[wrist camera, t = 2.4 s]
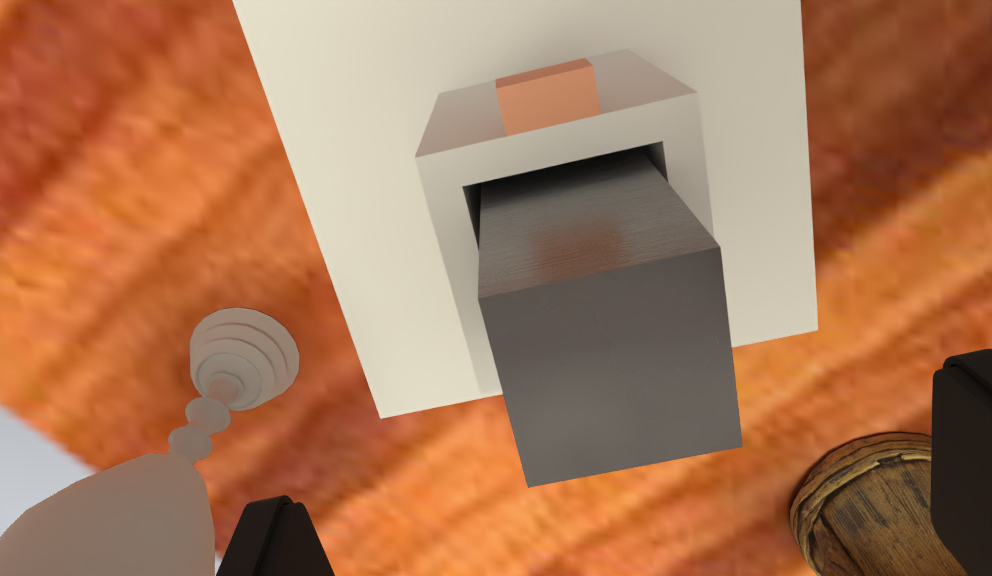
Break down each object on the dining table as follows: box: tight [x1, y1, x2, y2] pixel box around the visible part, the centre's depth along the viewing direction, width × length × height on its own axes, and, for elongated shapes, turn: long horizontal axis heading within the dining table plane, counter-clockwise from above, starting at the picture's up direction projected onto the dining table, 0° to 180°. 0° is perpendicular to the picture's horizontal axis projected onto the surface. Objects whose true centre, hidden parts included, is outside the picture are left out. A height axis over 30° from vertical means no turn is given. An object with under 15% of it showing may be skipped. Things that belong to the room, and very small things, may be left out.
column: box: [478, 147, 743, 488], centre depth 21 cm, size 4×4×16 cm
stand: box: [232, 0, 818, 419], centre depth 25 cm, size 20×20×12 cm
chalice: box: [0, 307, 300, 576], centre depth 26 cm, size 7×7×18 cm
